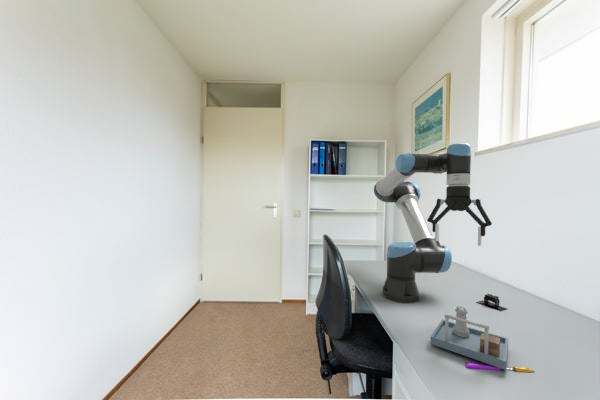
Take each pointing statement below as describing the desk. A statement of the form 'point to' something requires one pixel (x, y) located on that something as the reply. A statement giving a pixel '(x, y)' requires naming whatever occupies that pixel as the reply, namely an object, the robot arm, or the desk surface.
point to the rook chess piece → (461, 324)
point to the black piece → (491, 305)
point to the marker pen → (494, 367)
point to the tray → (469, 342)
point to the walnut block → (491, 345)
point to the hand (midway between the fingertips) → (457, 243)
